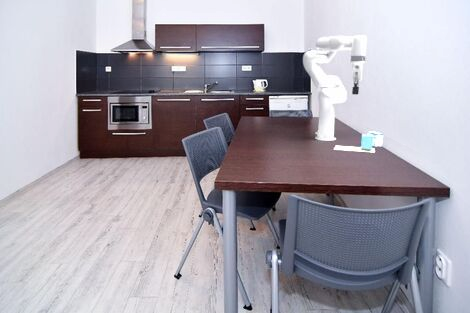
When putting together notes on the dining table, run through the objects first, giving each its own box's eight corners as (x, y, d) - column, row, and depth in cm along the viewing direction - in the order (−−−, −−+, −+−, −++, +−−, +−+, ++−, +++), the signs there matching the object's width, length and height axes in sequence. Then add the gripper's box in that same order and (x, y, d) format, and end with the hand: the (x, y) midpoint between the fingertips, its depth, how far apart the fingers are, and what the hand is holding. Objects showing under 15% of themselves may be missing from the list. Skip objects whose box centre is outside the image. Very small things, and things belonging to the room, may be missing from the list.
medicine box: (365, 146, 213) (367, 131, 211) (372, 146, 214) (373, 131, 213) (375, 149, 206) (377, 133, 204) (382, 148, 207) (383, 133, 205)
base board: (333, 152, 197) (333, 149, 196) (335, 148, 208) (335, 145, 207) (374, 155, 190) (374, 152, 190) (374, 150, 201) (374, 148, 201)
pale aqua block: (360, 148, 195) (361, 136, 194) (361, 146, 200) (362, 134, 198) (372, 149, 193) (373, 136, 192) (372, 147, 198) (373, 135, 197)
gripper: (365, 59, 195) (362, 95, 199) (365, 60, 209) (362, 93, 213) (349, 59, 197) (347, 94, 201) (351, 60, 211) (348, 93, 215)
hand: (355, 94), depth 207 cm, fingers closed
